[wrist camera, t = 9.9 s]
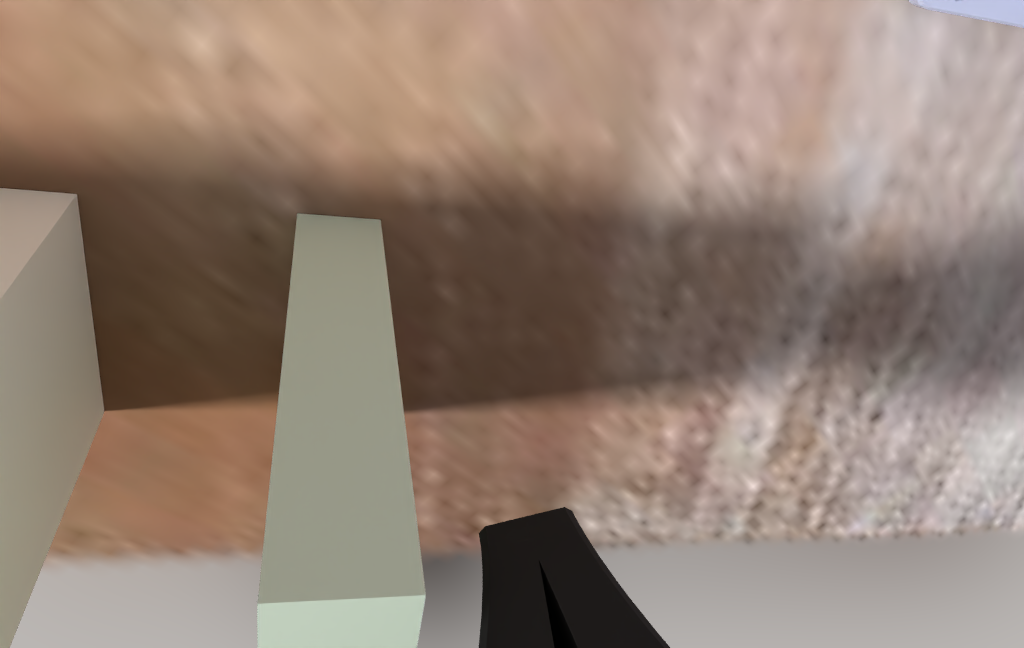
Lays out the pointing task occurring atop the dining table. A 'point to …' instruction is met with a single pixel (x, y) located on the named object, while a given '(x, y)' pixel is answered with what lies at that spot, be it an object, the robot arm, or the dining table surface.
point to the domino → (41, 383)
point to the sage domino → (340, 456)
